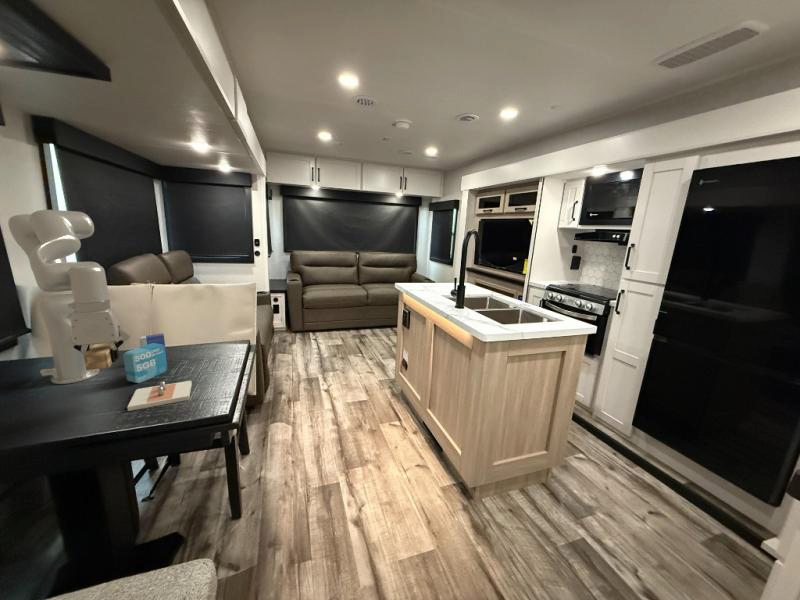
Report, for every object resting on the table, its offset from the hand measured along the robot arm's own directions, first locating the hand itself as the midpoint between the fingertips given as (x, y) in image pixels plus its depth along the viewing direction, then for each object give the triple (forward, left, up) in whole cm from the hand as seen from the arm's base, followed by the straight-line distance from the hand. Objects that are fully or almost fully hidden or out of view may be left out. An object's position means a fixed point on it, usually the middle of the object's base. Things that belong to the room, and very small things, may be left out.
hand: (102, 361), depth 96 cm
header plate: (+13, 0, -16) cm, 21 cm away
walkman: (+6, +34, -16) cm, 38 cm away
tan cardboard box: (0, 0, 0) cm, 0 cm away
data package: (+6, +19, -16) cm, 26 cm away
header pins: (+13, 0, -14) cm, 19 cm away
